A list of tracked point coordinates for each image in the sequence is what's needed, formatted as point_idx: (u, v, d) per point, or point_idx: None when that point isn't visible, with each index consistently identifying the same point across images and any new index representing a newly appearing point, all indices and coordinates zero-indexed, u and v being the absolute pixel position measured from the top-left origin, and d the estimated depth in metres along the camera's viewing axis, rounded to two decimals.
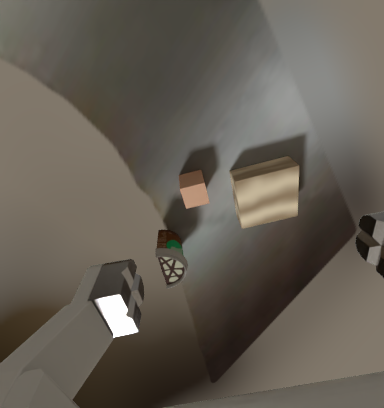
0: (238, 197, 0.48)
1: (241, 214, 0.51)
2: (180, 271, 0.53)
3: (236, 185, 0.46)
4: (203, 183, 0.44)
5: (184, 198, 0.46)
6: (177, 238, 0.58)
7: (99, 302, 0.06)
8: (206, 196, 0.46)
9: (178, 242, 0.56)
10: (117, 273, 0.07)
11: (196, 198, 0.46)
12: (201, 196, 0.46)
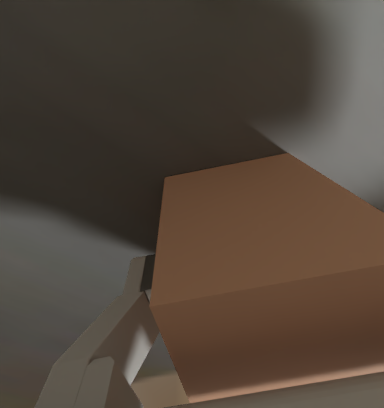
0: None
1: None
2: None
3: None
4: (161, 310, 0.04)
5: None
6: None
7: (150, 293, 0.06)
8: (336, 284, 0.04)
9: None
10: None
11: (318, 353, 0.05)
12: (308, 326, 0.04)
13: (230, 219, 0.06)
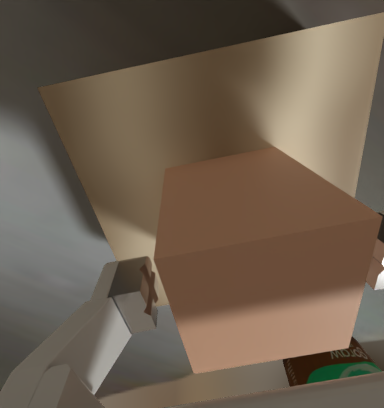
0: None
1: None
2: None
3: None
4: (162, 264, 0.05)
5: (267, 356, 0.07)
6: None
7: (118, 298, 0.06)
8: (298, 242, 0.05)
9: (322, 366, 0.23)
10: (135, 270, 0.07)
11: (290, 305, 0.06)
12: (279, 279, 0.06)
13: (219, 199, 0.07)
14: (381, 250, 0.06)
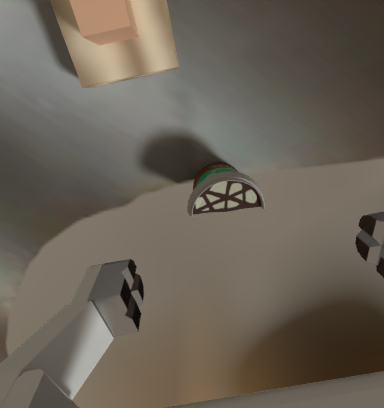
0: (111, 79, 0.30)
1: (146, 70, 0.29)
2: (235, 186, 0.33)
3: (89, 84, 0.30)
4: None
5: (104, 28, 0.22)
6: (204, 170, 0.40)
7: (99, 302, 0.06)
8: None
9: (206, 171, 0.39)
10: (117, 273, 0.07)
11: None
12: None
13: None
14: None
